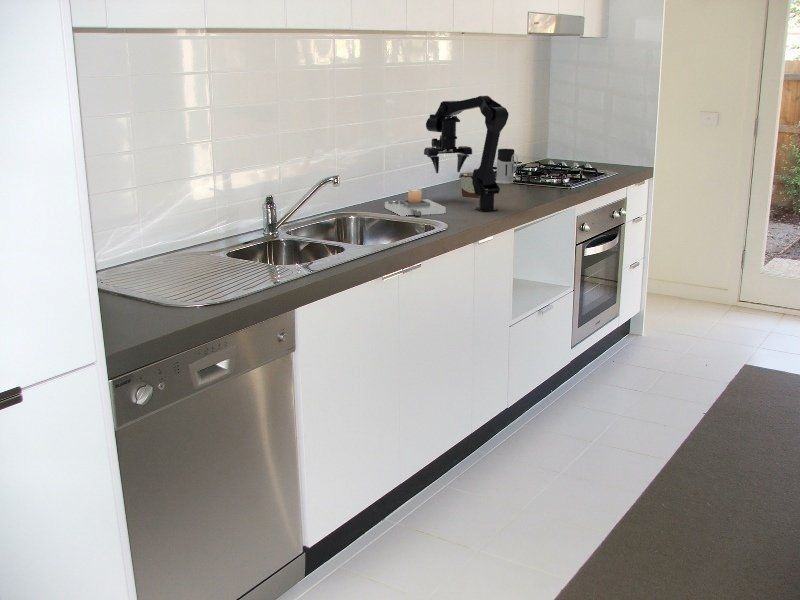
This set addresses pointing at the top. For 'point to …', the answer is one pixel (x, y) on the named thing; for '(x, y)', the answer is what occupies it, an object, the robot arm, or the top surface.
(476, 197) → the food container
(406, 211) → the gearbox housing
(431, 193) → the top surface
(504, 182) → the grey jug
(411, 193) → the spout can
